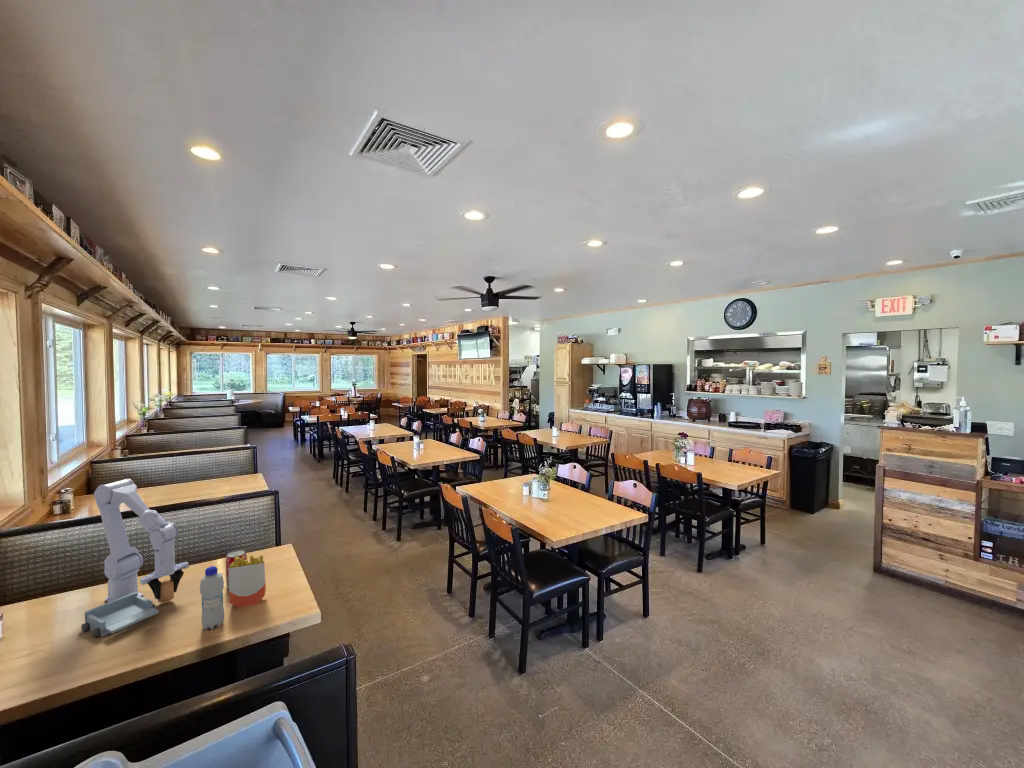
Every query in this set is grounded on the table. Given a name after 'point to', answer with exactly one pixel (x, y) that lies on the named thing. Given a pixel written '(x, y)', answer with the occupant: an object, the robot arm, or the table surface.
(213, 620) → the bottle
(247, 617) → the table surface
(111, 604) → the box
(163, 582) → the tan hollow cylinder
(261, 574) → the french fries container
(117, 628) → the panel
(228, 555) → the soda can
